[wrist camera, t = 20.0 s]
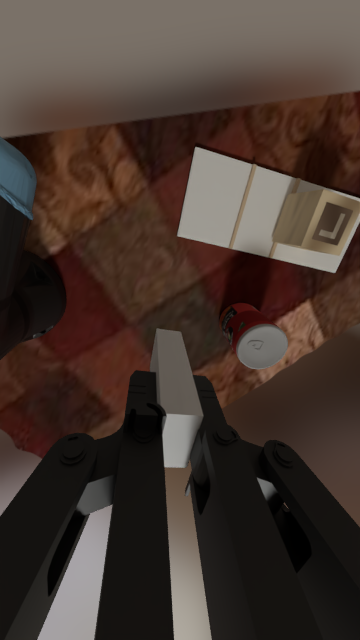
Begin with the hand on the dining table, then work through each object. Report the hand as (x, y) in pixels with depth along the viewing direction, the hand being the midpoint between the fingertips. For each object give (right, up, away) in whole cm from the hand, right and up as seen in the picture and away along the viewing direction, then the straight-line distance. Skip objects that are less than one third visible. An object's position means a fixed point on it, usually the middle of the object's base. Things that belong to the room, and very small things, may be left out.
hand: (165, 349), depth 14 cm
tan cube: (+22, +15, +16) cm, 31 cm away
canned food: (+12, +2, +30) cm, 32 cm away
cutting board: (+16, +19, +23) cm, 33 cm away
